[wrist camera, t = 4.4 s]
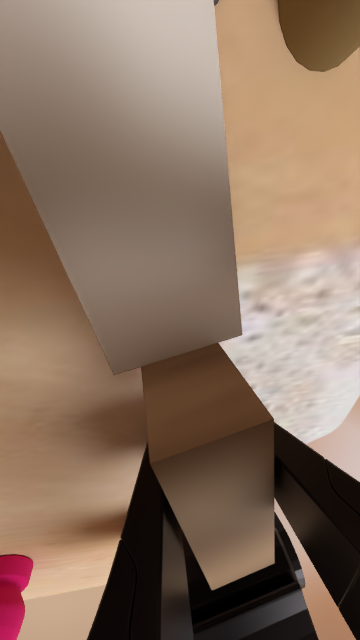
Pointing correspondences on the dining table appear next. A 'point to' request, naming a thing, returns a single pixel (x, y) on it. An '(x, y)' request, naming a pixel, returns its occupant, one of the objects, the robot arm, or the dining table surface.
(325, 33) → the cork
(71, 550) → the dining table surface
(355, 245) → the dining table surface
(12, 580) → the pepper mill
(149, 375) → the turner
